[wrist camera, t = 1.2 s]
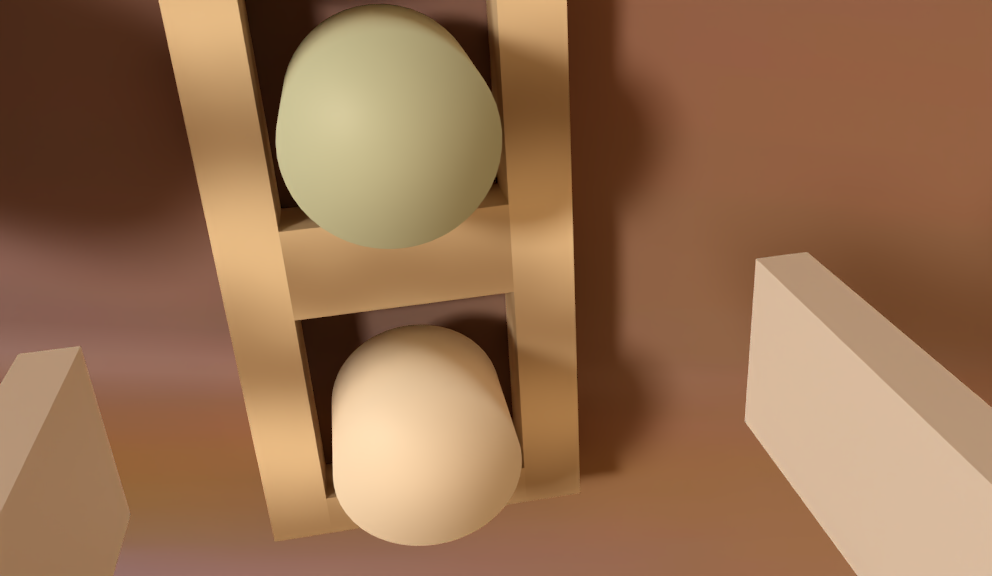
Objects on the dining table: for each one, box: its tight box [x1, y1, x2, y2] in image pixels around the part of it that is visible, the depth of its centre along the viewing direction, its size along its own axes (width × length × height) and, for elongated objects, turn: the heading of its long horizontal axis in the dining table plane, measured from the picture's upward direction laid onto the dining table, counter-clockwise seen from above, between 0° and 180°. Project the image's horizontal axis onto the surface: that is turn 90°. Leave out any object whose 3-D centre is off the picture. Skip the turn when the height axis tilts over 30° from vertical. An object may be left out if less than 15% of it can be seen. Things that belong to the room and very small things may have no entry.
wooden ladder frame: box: [159, 0, 580, 542], centre depth 28 cm, size 30×11×2 cm, turn 4°
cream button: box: [332, 325, 522, 546], centre depth 29 cm, size 6×6×4 cm
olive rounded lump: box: [276, 4, 502, 249], centre depth 25 cm, size 6×6×4 cm
